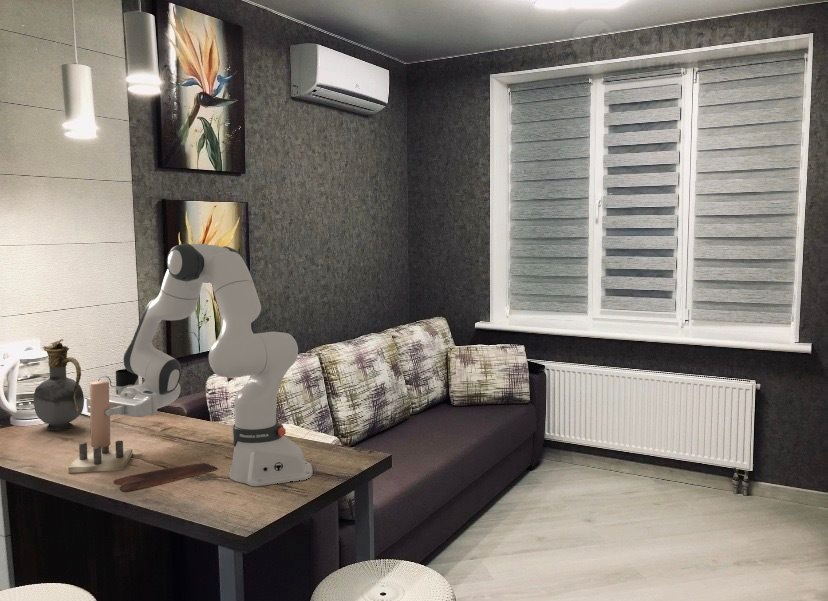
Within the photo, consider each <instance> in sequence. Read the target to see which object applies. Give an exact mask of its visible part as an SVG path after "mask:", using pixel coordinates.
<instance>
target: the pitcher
mask: <svg viewBox="0 0 828 601" xmlns="http://www.w3.org/2000/svg"><path fill="white" fill-rule="evenodd" d="M64 341H65V339H64V338H62V339H59V340H55V341H53V342H50V343H49V345H47V346H45V345H43V347H42V349H43V350H44V351H45V352H46V353H47V356H48V364H47V365H48V367H49V378H48V379H46V380H44V381H42V382H40V384H38V386H36V388H35V389H34V394H33V407H34V408H33V409H34V412H35V414H36V416H37V418H38V419H39V420H41V421H42V422H43V423H44V424H47V426H46V427H47V430H48V429H49V431H52V430H58V431H59V430H62V431H66V429H67V430H70V429H72V428H73V423H72V422H73V421H74V420H76V419H77V418H78V417H80V415H81V414H82V413H83V410H84V407H85V398H84V397H85V396H84V392H83V388H82V387H81V385H80V380H81V377H82V368H81V365H80V362H79V361H78V360H77V359H76V358H75V357H73V356H72V357H71V356H70V357H68V351H69V350H70V347H68V346H67V345H63V343H61V342H64ZM68 363H71V364H72V365H74V367H75V371H76V377H75V380H74V379H72V378H70V377H67V366H68ZM71 427H72V428H71ZM69 428H70V429H69ZM58 431H57V432H58Z"/></svg>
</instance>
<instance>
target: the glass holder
mask: <svg viewBox="0 0 828 601" xmlns="http://www.w3.org/2000/svg"><path fill="white" fill-rule="evenodd" d="M139 377H140V376H139V375H136V374H134V373H132V372H129V371H127V370H126V368H123V369H117V370H116V371H115V385H112V379H111V378H110V376H107V375H102V376H99V378H98V379H97V381H101V379H102V378H107V379H108V380H109V386H110V387H111V388H115V394H116V395H120V394H121V392H122V391H123V389H125V388H127V387H131V386H134V385H138V384H140V383H139V382H140V381H139Z"/></svg>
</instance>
